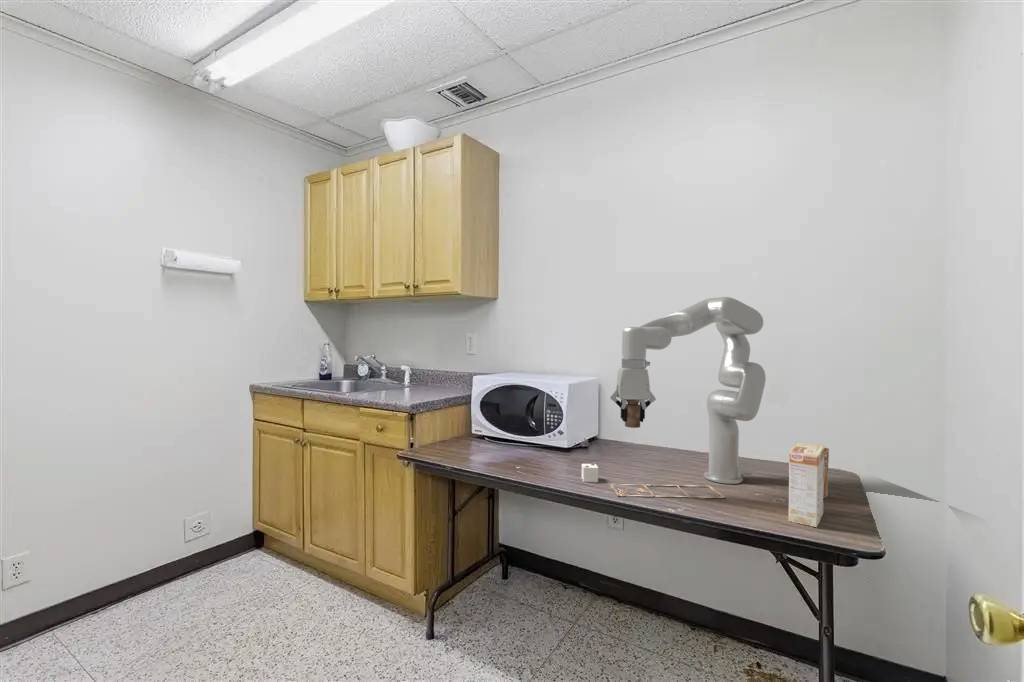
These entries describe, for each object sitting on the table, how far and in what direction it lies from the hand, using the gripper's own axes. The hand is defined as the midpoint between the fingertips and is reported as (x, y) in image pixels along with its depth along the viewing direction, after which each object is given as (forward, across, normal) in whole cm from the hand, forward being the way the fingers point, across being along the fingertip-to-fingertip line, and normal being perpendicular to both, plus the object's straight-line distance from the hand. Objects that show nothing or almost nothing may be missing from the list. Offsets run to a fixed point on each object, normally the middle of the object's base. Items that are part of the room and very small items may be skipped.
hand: (632, 420), depth 152 cm
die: (+23, +12, -11) cm, 28 cm away
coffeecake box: (+23, -44, +20) cm, 54 cm away
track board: (+23, -11, 0) cm, 26 cm away
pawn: (+2, 0, 0) cm, 2 cm away
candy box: (+23, -58, +3) cm, 63 cm away
